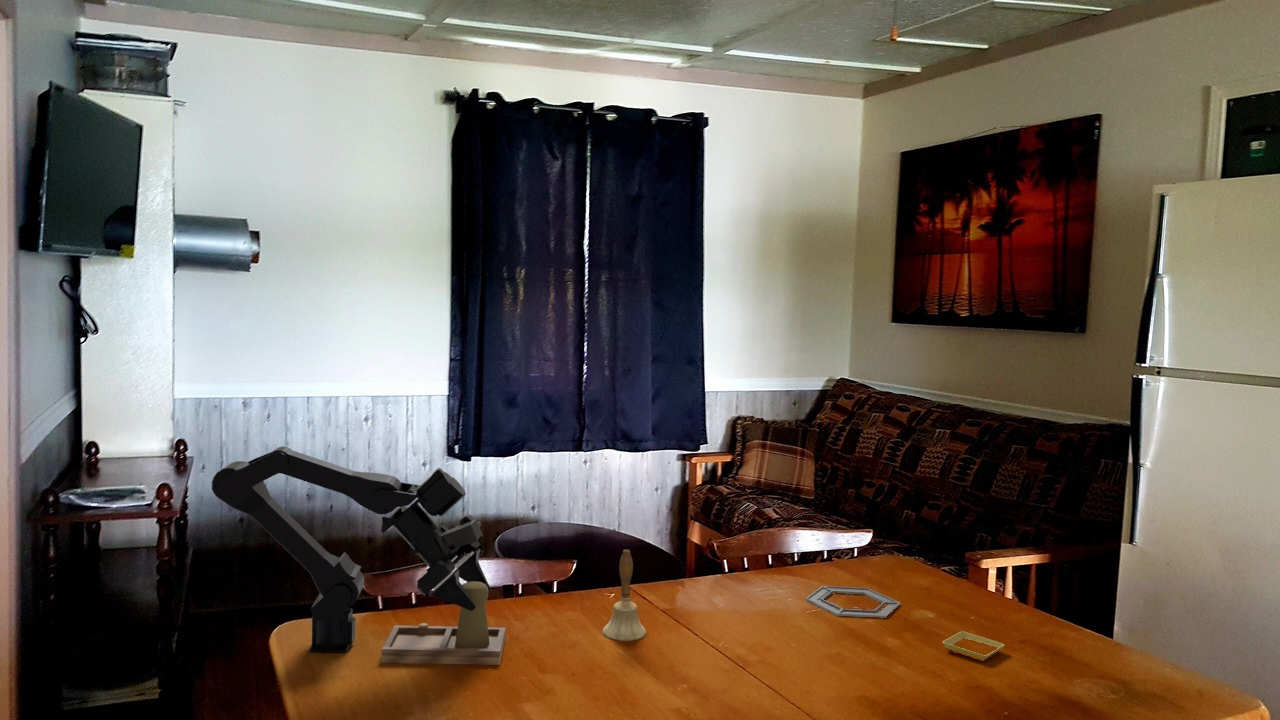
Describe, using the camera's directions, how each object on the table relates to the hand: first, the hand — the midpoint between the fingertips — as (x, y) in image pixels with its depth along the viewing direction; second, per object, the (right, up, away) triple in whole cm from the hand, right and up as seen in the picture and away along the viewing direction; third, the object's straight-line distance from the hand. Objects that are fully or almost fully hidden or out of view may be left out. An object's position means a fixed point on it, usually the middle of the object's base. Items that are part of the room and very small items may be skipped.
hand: (481, 600), depth 167 cm
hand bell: (+25, -10, +13) cm, 29 cm away
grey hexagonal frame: (+73, -10, +35) cm, 82 cm away
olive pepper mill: (-2, -8, +1) cm, 8 cm away
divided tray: (-7, -9, +1) cm, 11 cm away
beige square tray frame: (+90, -13, +10) cm, 92 cm away
